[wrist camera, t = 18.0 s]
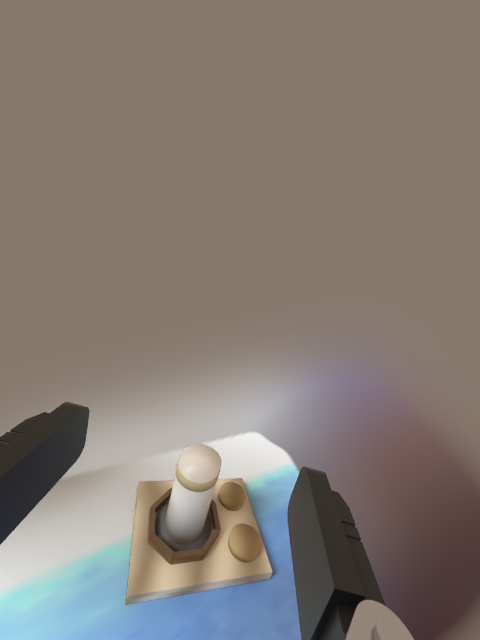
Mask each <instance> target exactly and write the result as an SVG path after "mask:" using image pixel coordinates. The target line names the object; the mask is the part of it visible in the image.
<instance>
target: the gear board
mask: <svg viewBox="0 0 480 640" xmlns="http://www.w3.org/2000/svg"><path fill="white" fill-rule="evenodd" d="M173 483H174V481H147V482H139V484H138V489H137V499H136V508H135V518H134V528H133V537H132V547H131V557H130V566H129V576H128V586H127V595H126V605H127V604H132V603H138V602H144V601H149V600H155V599H161V598H166V597H172V596H178V595H184V594H189V593H195V592H201V591H206V590H212V589H218V588H223V587H229V586H235V585H240V584H246V583H252V582H257V581H263V580H269V579H270V577H271V575H272V569H271V566H270V563H269V560H268V556H267V553H266V550H265V547H264V544H263V541H262V538H261V535H260V532H259V529H258V526H257V523H256V520H255V516H254V513H253V510H252V507H251V504H250V501H249V498H248V495H247V492H246V489H245V486H244V483H243V479H242V478H237V479H217V482H216V485H215V489H214V492H213V496H212V499H211V503H210V506H209V510H208V514H207V517H206V521H205V524H204V528H203V531H202V534H201V535H200V537H199V538H198V539H197V540H196V541H194V542H193V543H190V544H186V545H181V544H177V543H175V542H173V541H172V540H171V539H170V538H169V537H168V536H167V534H166V532H165V527H164V523H165V518H166V514H167V509H168V505H169V501H170V496H171V492H172V488H173Z"/></svg>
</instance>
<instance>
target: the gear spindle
mask: <svg viewBox="0 0 480 640" xmlns="http://www.w3.org/2000/svg"><path fill="white" fill-rule="evenodd" d="M220 467H221V458H220V456H219V454H218V453H217V452H216V451H215V450H214V449H213V448H211V447H209V446H207V445H203V444H194V445H190V446H188V447H186V448H185V449H184V450H183V451H182V452H181V454H180V458H179V460H178V464H177V469H176V475H175V479H174V483H173V488H172V492H171V496H170V501H169V505H168V509H167V514H166V518H165V523H164V527H165V532H166V534H167V536H168V537H169V538H170V539H171V540H172V541H173V542H175V543H177V544H181V545H186V544H190V543H193V542H194V541H196V540H197V539H198V538H199V537H200V535H201V534H202V531H203V528H204V524H205V521H206V517H207V514H208V510H209V506H210V503H211V499H212V496H213V492H214V489H215V485H216V482H217V479H218V476H219V472H220Z"/></svg>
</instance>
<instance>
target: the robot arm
mask: <svg viewBox="0 0 480 640" xmlns="http://www.w3.org/2000/svg"><path fill="white" fill-rule="evenodd" d="M88 418H89V409H88V407H84V406H81V405H77V404H73V403H70V402H65V403H63V404H62V405H61V406H59V407H58V408H56V409H55V410H54V411H52V412H51V413H46V412H44V413H41V414H39V415H37V416H34V417H32V418H29V419H26V420H25V421H23V422H22V423H20V424H19V425H17V426H16V427H14V428H13V429H11V431H10V432H7V433H6V434H4V435H3V436H1V437H0V544H1V543H2V542H3V541H4V540H5V539H6V538H7V537H8V536H9V535H10V533H11V532H12V531H13V530H14V529H15V528H16V527H17V526H18V525H19V524H20V522H21V521H22V520H23V519H24V518H25V517H26V516H27V515H28V514H29V513H30V511H31V510H32V509H33V508H34V507H35V506H36V505H37V504H38V503H39V502H40V500H41V499H42V498H43V497H44V496H45V495H46V494H47V493H48V492H49V491H50V489H51V488H52V487H53V486H54V485H55V484H56V483H57V482H58V481H59V479H60V478H61V477H62V476H63V475H64V474H65V473H66V472H67V471H68V469H69V468H70V467H71V466H72V465H73V464H74V463H75V462H76V461H77V459H78V458H79V456H80V455H81V453H82V450H83V448H84V445H85V441H86V433H87V426H88ZM288 527H289V536H290V544H291V553H292V561H293V570H294V578H295V587H296V596H297V604H298V613H299V621H300V630H301V639H302V640H414V639H413V637H412V636H411V634H410V632H409V631H408V629H407V628H406V627H405V625H404V624H403V623H402V621H401V620H400V619H399V618H398V617H397V616H396V615H395V614H394V613H393V612H392V611H391V610H390V609H388V608H387V607H386V605H385V603H384V600H383V598H382V595H381V592H380V590H379V587H378V584H377V582H376V579H375V576H374V573H373V571H372V568H371V565H370V563H369V560H368V557H367V555H366V552H365V549H364V547H363V544H362V542H361V541H360V539H361V538H360V536H359V533H358V530H357V528H355V522H354V520H353V517H352V514H351V512H350V509H349V507H348V506H347V504H346V503H345V501H344V500H343V499H342V497H341V496H340V494H339V493H338V492H334V491H331V488H330V485H329V482H328V479H327V476H326V474H325V472H322V471H318V470H315V469H311V468H307V467H302V469H301V471H300V473H299V476H298V479H297V481H296V484H295V487H294V489H293V492H292V495H291V497H290V500H289V505H288Z"/></svg>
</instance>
